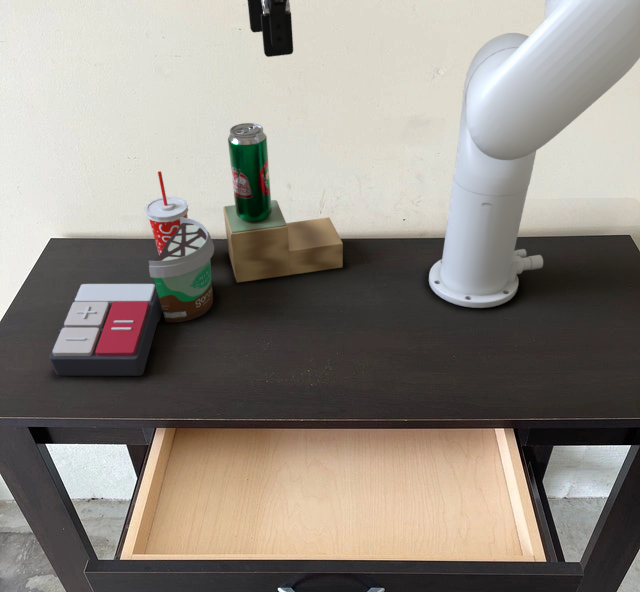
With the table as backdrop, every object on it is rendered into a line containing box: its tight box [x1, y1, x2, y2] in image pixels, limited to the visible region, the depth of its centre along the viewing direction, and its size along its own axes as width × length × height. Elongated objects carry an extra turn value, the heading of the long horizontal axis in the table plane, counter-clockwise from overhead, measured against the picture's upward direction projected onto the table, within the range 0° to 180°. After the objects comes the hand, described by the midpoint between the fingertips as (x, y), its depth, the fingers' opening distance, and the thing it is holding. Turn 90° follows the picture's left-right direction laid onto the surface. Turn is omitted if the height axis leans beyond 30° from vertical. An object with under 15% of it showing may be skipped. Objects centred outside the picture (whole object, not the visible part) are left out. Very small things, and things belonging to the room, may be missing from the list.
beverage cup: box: [144, 171, 189, 256], centre depth 95 cm, size 6×6×14 cm
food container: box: [148, 217, 215, 323], centre depth 89 cm, size 12×6×10 cm, turn 168°
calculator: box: [48, 283, 163, 377], centre depth 86 cm, size 11×4×15 cm
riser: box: [222, 199, 344, 283], centre depth 97 cm, size 16×8×8 cm, turn 104°
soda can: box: [227, 122, 272, 222], centre depth 89 cm, size 5×5×12 cm
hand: (271, 42), depth 76 cm, fingers open, 9 cm apart
